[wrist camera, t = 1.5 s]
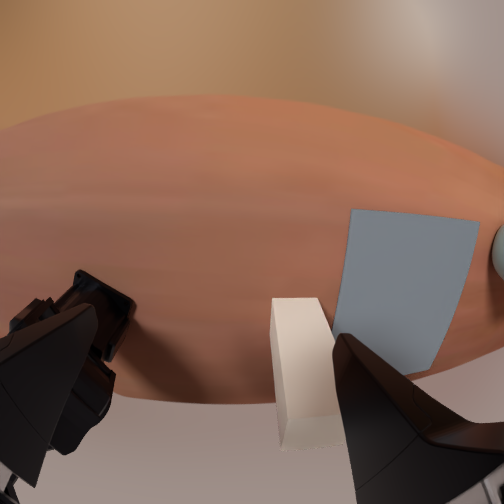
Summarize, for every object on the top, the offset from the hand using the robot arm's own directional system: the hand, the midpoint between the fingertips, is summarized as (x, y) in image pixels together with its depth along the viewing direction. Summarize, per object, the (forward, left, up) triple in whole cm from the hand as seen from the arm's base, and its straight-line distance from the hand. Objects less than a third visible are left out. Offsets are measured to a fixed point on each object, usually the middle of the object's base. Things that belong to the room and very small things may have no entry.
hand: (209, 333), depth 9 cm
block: (+9, -5, -13) cm, 16 cm away
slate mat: (+19, +1, -13) cm, 23 cm away
